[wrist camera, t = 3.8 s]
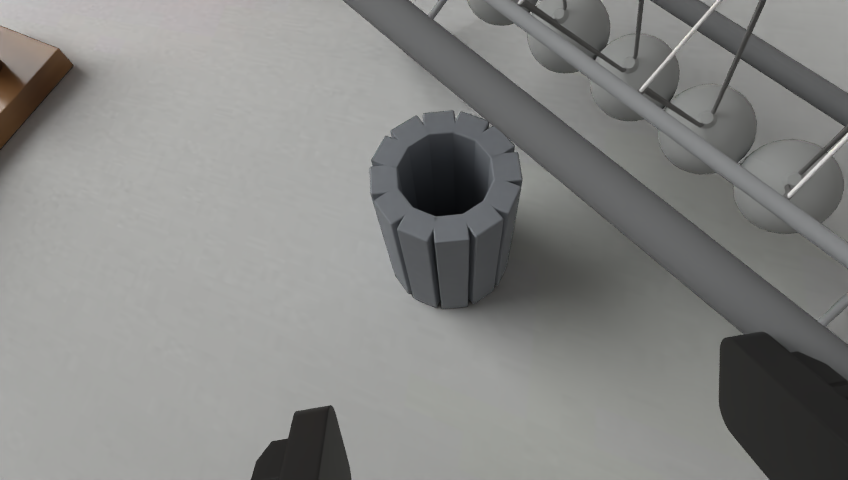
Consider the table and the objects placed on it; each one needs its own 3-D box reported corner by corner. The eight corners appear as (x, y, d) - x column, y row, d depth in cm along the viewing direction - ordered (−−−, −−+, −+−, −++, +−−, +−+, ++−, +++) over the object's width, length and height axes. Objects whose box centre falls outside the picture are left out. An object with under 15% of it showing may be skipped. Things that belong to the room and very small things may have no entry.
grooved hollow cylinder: (479, 327, 28) (484, 265, 21) (372, 280, 29) (342, 207, 22) (524, 227, 30) (543, 139, 23) (422, 187, 31) (410, 92, 24)
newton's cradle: (386, 30, 36) (141, -167, 20) (496, -122, 34) (318, -488, 18) (827, 395, 26) (1058, 597, 10) (1031, 215, 24) (1791, 85, 7)
